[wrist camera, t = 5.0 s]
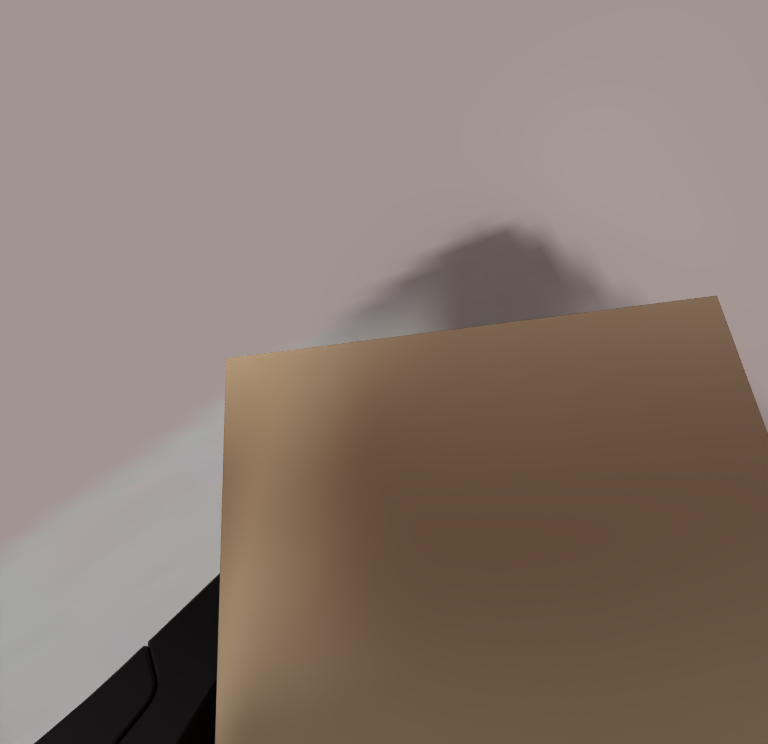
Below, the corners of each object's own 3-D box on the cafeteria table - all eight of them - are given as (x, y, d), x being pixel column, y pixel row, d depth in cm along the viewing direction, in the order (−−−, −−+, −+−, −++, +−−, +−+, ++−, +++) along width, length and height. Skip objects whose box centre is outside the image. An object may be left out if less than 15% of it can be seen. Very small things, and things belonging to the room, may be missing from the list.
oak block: (594, 702, 11) (968, 975, 3) (379, 719, 12) (208, 1005, 3) (550, 486, 13) (717, 295, 5) (364, 505, 14) (225, 358, 5)
